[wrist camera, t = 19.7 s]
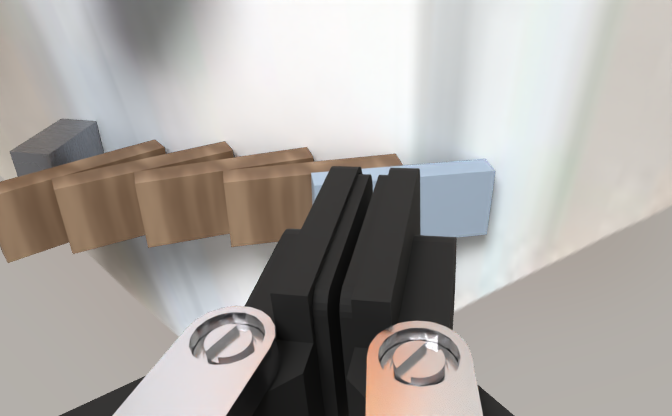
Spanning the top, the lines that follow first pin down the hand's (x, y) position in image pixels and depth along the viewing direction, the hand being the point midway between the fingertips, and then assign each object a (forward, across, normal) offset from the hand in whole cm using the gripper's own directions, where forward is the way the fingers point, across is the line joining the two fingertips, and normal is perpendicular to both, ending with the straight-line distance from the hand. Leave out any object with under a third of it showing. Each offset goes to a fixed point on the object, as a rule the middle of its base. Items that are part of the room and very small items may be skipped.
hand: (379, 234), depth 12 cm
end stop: (+28, +28, +13) cm, 42 cm away
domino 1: (+27, +21, +13) cm, 37 cm away
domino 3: (+28, +10, +14) cm, 32 cm away
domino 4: (+28, +3, +14) cm, 31 cm away
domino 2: (+28, +16, +14) cm, 34 cm away
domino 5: (+28, -3, +14) cm, 31 cm away
